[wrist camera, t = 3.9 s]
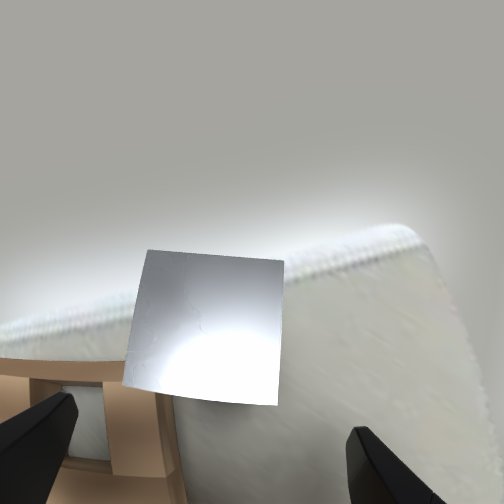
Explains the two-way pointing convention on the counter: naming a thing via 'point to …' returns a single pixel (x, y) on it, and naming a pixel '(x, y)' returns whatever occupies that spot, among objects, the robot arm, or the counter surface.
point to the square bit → (207, 327)
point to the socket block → (118, 433)
